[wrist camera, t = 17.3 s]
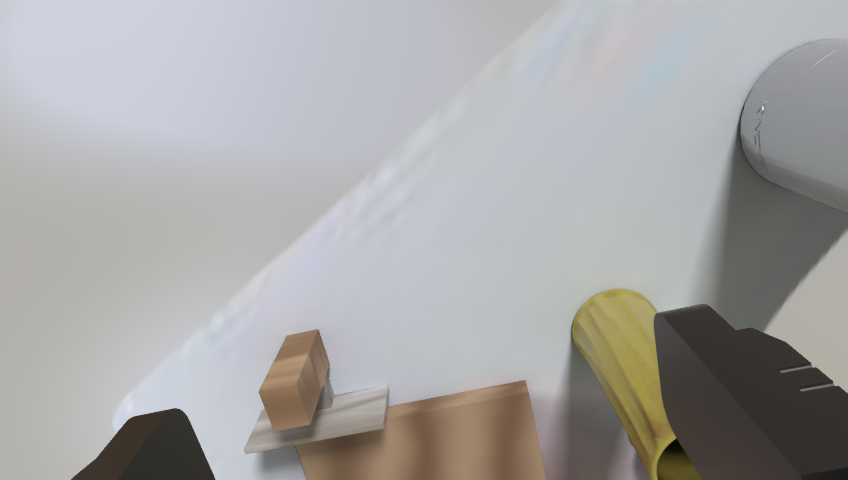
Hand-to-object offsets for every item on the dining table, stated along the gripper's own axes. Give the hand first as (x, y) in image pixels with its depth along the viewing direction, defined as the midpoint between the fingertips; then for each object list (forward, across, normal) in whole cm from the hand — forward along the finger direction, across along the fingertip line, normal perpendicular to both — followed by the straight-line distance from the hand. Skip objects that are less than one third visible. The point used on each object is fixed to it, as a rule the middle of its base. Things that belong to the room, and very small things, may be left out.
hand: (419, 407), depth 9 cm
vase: (+28, -10, +16) cm, 34 cm away
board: (+28, +6, +28) cm, 40 cm away
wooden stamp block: (+28, +12, +14) cm, 34 cm away
